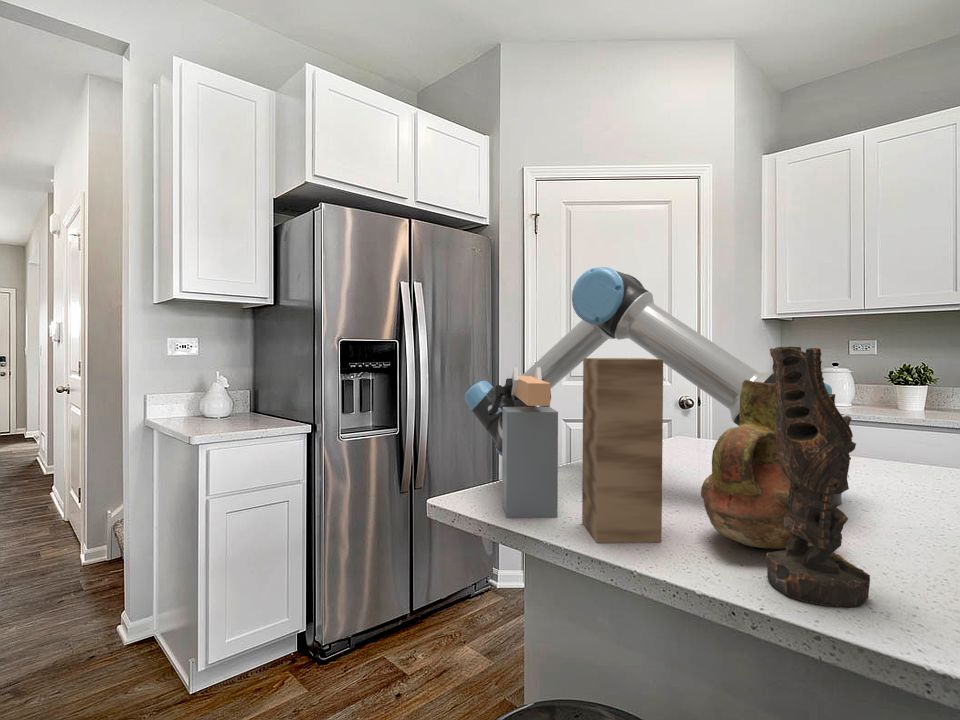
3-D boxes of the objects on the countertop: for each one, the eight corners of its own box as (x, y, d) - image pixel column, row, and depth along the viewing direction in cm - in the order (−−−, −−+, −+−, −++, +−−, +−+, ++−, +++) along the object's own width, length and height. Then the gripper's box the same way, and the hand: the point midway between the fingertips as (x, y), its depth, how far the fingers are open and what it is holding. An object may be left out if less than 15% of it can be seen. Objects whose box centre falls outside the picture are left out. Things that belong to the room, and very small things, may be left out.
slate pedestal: (502, 503, 108) (502, 406, 108) (549, 503, 109) (549, 406, 108) (506, 517, 99) (506, 412, 99) (557, 517, 100) (558, 412, 99)
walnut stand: (582, 522, 97) (583, 358, 96) (640, 522, 97) (641, 358, 96) (596, 543, 87) (598, 359, 86) (661, 542, 87) (663, 359, 86)
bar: (512, 393, 116) (512, 375, 116) (529, 393, 116) (530, 376, 116) (527, 405, 91) (528, 383, 91) (550, 405, 91) (550, 383, 91)
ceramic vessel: (856, 538, 89) (858, 379, 89) (792, 582, 72) (795, 385, 72) (745, 513, 102) (747, 374, 102) (669, 547, 85) (671, 379, 84)
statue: (882, 612, 64) (887, 346, 63) (782, 603, 66) (785, 346, 66) (843, 576, 74) (847, 346, 74) (757, 569, 76) (760, 346, 76)
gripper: (554, 437, 125) (574, 391, 104) (478, 438, 124) (483, 391, 104) (551, 406, 128) (570, 356, 108) (478, 406, 128) (482, 355, 107)
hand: (527, 373), depth 106 cm, fingers closed on bar, 4 cm apart
